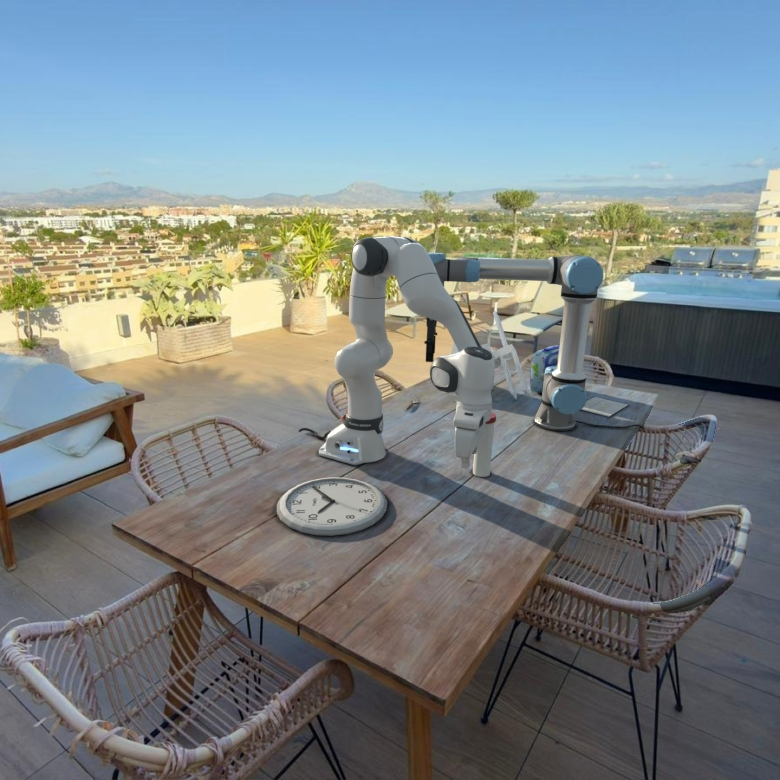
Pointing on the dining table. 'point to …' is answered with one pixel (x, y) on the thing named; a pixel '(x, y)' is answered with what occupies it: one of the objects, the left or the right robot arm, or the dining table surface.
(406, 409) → the fork
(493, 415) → the lid
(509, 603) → the dining table surface
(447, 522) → the dining table surface
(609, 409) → the invitation card
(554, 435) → the dining table surface
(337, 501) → the wall clock
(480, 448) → the jar
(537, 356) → the lunch box
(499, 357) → the white plastic object
